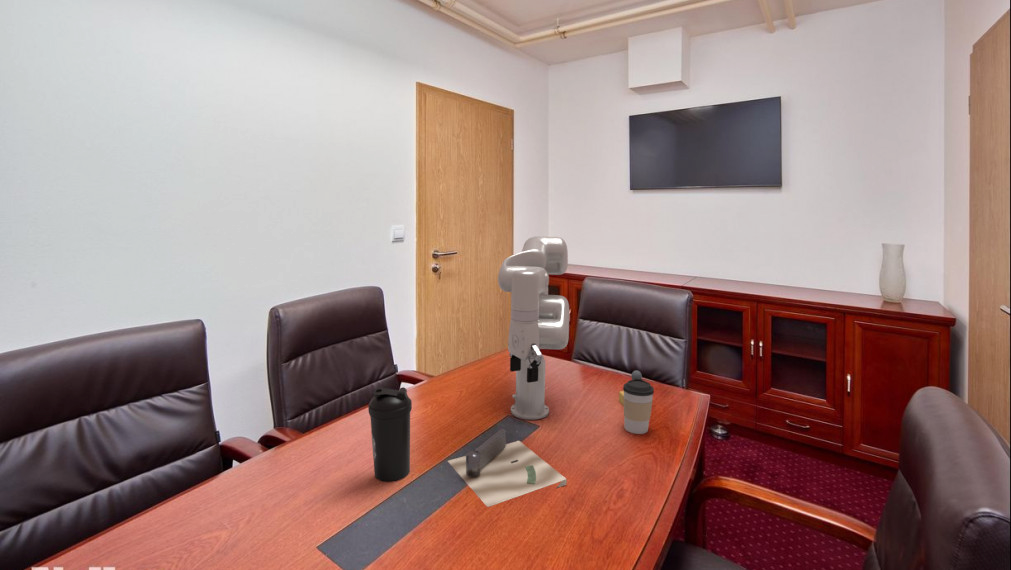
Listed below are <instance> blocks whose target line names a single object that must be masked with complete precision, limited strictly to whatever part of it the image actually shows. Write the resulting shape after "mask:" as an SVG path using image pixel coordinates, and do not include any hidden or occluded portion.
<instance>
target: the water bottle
mask: <svg viewBox="0 0 1011 570" xmlns="http://www.w3.org/2000/svg"><path fill="white" fill-rule="evenodd" d="M372 396H373V397H372V398H371V400H370V401H369V403H368V405H367V406H368V407H367V408H368V409H367V411H368V414H369V417H370V428H371V429H370V431H371V432H370V433H371V444H372V445H371V447H372V456H373V457H372V459H373V460H372V461H373V469H374V471H373V472H374V478H375V479H377V480H379V481H380V482H383V483H393V482H398V481H401V480H404V479H405V478H406V477H407V476H408V475H409V474H410V470H411V411H412V408H413V407H412V405H413V402H412V401H413V400H412V399H411V398H410V397H409V395H408V390H407V388H405V387H403V386H402V387H400V388H399V389H393V388H386V387H380V386H379V387H376V388H375V389H374V390H373V392H372Z"/></svg>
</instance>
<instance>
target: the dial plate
mask: <svg viewBox="0 0 1011 570" xmlns="http://www.w3.org/2000/svg"><path fill="white" fill-rule="evenodd" d="M447 462H448V464H449V466H451V467H452V468H453V470H454V471H455V472H456V473H457V474H458V476H459V477H461V478H462V480H463V481H464V482H465V483H466V485H468V487H469V488H470V489H471V490H472V492H474V493H475V495H476V497H478V498H479V499H480V500H481V502H483V504H484V505H485V506H486V507H487V508H489V507H493V506H495V505H499V504H500V503H503V502H506V501H509V500H512V499H515V498H518V497H520V496H524V495H526V494H529V493H532V492H535V491H537V490H540V489H543V488H546V487H549V486H551V485H555V484H557V483H559V484H558V485H557V487H556V489H558V488H562V487H564V486H567V481H568V480H567V478H566V477H565V476H563V475H562V474H561V473H560V472H559V471H558V470H556V469H555V468H553V467H552V466H551V465H550V464H549V463H547V462H546V460H544V459H542V458H541V457H540V456H538V454H536V453H535V452H534V451H533V450H531V449H530V448H529V447H527V446H526V445H525V444H524V443H523V442H522V441H520V440H517V441H513V442H512V441H511V442H510V443H506V447H505V448H504V449H503V450H502V451H501V452H500V453H499V454H497V455H496V456H495V457H494V458H493V459H492V460H491V461H489V462H488V463H487V464H486V465H485V466H484V467H483V468H482V469H481V473H480V475H478V476H476V477H470V476H468V475H466V455H463V456H460V457H457V458H456V457H455V458H452V459H449V460H447Z"/></svg>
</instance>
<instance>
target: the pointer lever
mask: <svg viewBox="0 0 1011 570" xmlns="http://www.w3.org/2000/svg"><path fill="white" fill-rule="evenodd" d="M506 432H507V430H506V429H503V428H500V429H499V430H498V431H497V432H495V433H494V434H493V435H492V436H490V437H489V438H488V439H487V440H485V441H484V442H483V443H481V444H480V445H479V446H478V447H476V448H475V449H474V450H473V449H472V450H469V451H466V452H465V456H466V475H468V476H470V477H476V476H478V475H480V473H481V469H482V468H483V467H484V466H485V465H486V464H487V463H488V462H489V461H491V460H492V459H493V458H494V457H495V456H496V455H497V454H499V453H500V452H501V451H502V450H503V449H504V448H505V447H506V444H507V438H506V437H507V433H506Z"/></svg>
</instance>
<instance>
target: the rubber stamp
mask: <svg viewBox="0 0 1011 570" xmlns="http://www.w3.org/2000/svg"><path fill="white" fill-rule="evenodd" d="M630 377H631V380H633V379H642V380H643V376H642V373H641V371H639V370H634V371H632V373H631V376H630ZM623 396H624V390H620V391H619V393H618V402H619V403H620V404H621V405H622V406H623V407H624V399H623Z"/></svg>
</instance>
